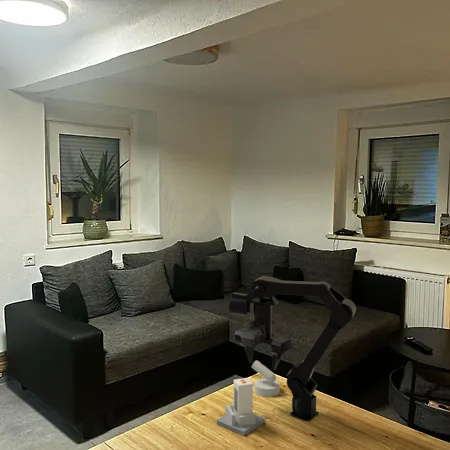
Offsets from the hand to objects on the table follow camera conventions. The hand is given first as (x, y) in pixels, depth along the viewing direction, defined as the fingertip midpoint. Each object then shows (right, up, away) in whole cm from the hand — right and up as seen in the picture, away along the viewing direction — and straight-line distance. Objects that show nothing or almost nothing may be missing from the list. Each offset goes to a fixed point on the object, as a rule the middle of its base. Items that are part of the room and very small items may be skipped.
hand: (262, 366), depth 145 cm
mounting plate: (-7, -14, -9) cm, 18 cm away
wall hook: (+2, -12, +13) cm, 18 cm away
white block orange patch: (-6, -13, -9) cm, 17 cm away
